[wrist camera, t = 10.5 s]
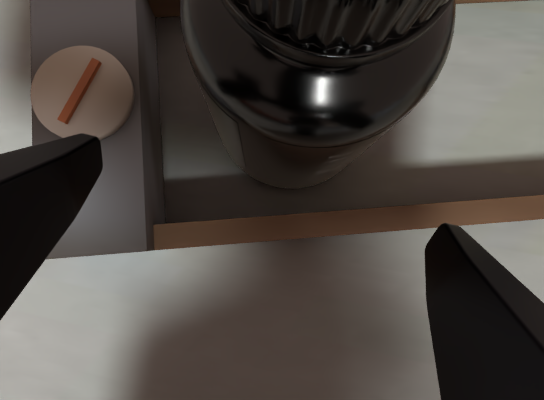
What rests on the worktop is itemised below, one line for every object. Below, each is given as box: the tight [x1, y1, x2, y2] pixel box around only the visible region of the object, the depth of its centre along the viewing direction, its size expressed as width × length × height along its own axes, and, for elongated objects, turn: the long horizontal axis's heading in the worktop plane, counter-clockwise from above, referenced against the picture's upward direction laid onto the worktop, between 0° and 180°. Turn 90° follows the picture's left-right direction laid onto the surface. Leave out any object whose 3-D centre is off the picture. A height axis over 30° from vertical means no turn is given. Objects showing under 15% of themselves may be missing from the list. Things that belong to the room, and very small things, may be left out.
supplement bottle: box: [180, 0, 456, 189], centre depth 11 cm, size 7×7×12 cm
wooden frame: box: [30, 0, 544, 259], centre depth 16 cm, size 12×31×4 cm, turn 95°
